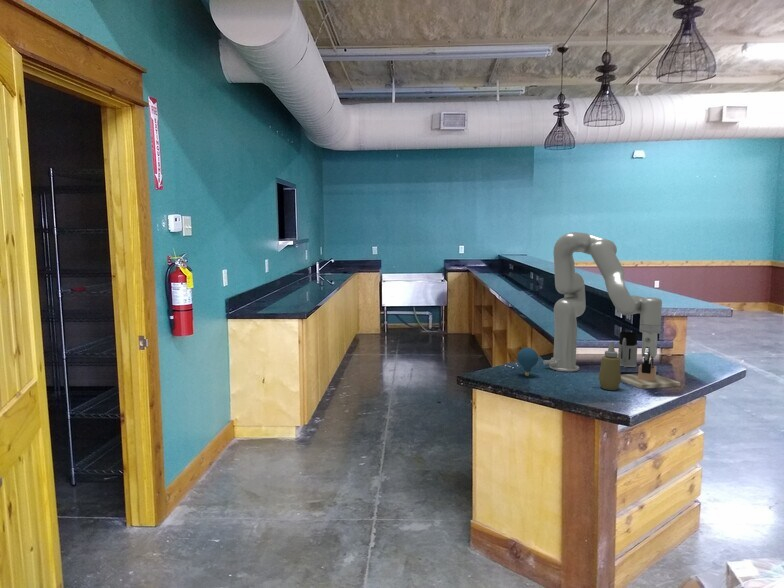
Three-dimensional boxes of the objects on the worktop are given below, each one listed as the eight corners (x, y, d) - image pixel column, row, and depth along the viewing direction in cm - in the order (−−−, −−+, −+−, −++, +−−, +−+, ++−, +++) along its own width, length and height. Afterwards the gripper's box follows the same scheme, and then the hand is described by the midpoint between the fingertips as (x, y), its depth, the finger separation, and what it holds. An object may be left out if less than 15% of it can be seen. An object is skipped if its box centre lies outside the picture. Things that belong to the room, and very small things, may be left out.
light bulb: (539, 375, 230) (540, 346, 229) (535, 379, 223) (536, 350, 222) (519, 372, 234) (520, 345, 233) (514, 377, 226) (515, 348, 225)
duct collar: (637, 379, 220) (638, 366, 219) (639, 376, 225) (640, 364, 224) (654, 381, 217) (655, 368, 216) (655, 378, 222) (656, 366, 221)
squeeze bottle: (618, 392, 205) (621, 345, 203) (596, 389, 209) (598, 342, 208) (622, 387, 212) (624, 341, 210) (600, 384, 216) (602, 339, 215)
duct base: (641, 388, 211) (642, 364, 210) (614, 378, 226) (615, 355, 225) (680, 386, 215) (681, 362, 214) (651, 376, 231) (652, 354, 230)
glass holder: (639, 365, 252) (641, 333, 250) (632, 371, 240) (634, 337, 239) (619, 362, 257) (620, 330, 255) (611, 368, 245) (613, 335, 244)
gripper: (658, 332, 209) (655, 376, 211) (662, 326, 224) (659, 367, 226) (637, 330, 213) (634, 373, 215) (642, 324, 228) (639, 365, 230)
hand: (647, 370), depth 220 cm, fingers open, 9 cm apart
